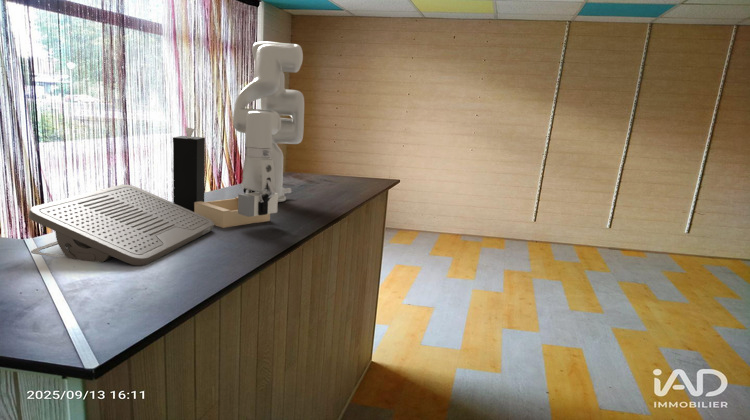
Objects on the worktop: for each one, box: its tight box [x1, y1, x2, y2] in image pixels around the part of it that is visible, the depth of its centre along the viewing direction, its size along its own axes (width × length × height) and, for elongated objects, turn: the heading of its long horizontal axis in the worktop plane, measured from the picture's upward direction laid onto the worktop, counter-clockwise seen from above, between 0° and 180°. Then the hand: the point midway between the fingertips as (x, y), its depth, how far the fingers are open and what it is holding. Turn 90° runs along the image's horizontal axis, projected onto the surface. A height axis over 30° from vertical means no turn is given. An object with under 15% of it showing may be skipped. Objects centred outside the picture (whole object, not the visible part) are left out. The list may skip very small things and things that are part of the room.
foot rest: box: [28, 184, 215, 266], centre depth 139 cm, size 39×30×13 cm
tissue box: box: [172, 126, 206, 212], centre depth 179 cm, size 8×8×28 cm
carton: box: [194, 196, 271, 229], centre depth 171 cm, size 18×15×6 cm
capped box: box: [237, 191, 279, 217], centre depth 163 cm, size 11×5×6 cm, turn 141°
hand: (256, 212), depth 163 cm, fingers closed on capped box, 5 cm apart
